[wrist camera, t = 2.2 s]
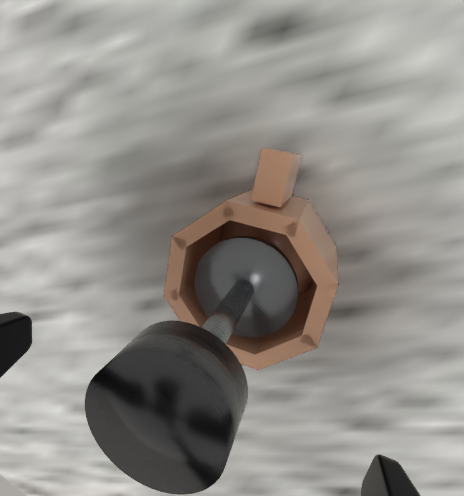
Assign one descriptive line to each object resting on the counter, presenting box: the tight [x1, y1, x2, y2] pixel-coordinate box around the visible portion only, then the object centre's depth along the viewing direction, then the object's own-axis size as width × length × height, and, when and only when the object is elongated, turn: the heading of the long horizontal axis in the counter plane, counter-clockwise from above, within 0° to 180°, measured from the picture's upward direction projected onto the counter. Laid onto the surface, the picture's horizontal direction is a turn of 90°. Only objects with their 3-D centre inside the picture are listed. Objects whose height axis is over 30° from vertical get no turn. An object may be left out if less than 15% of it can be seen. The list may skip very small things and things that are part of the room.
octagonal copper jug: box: [164, 148, 339, 370], centre depth 15 cm, size 7×9×6 cm
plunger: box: [85, 236, 299, 494], centre depth 10 cm, size 4×4×8 cm
